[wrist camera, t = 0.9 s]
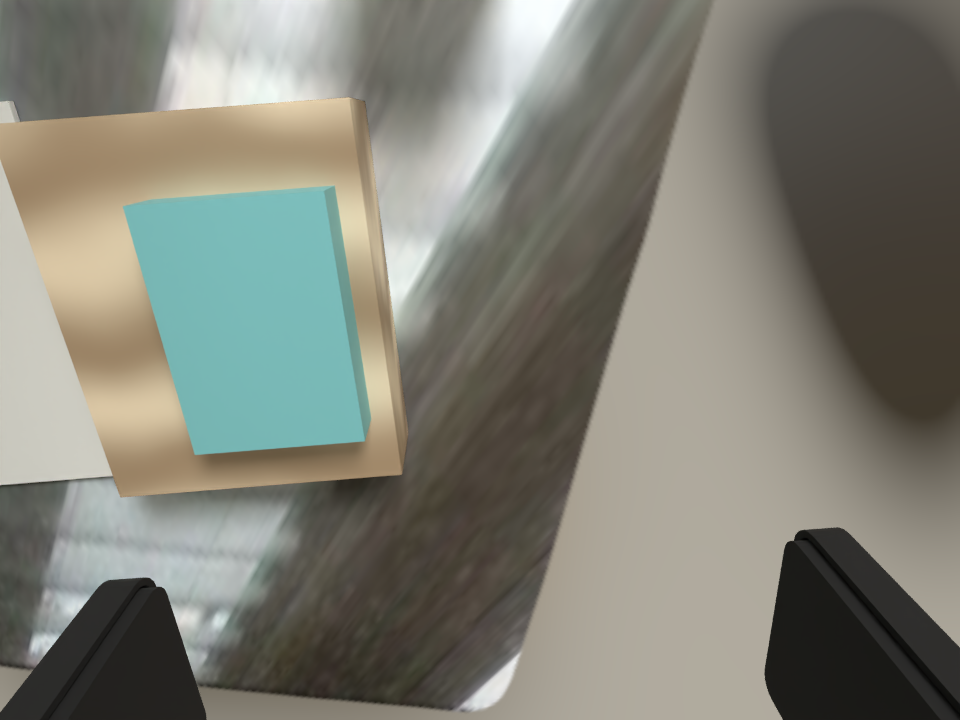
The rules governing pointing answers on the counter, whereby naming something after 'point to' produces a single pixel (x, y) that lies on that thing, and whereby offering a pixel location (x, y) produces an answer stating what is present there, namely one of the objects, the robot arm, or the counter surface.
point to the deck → (123, 294)
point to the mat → (37, 368)
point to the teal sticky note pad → (255, 316)
